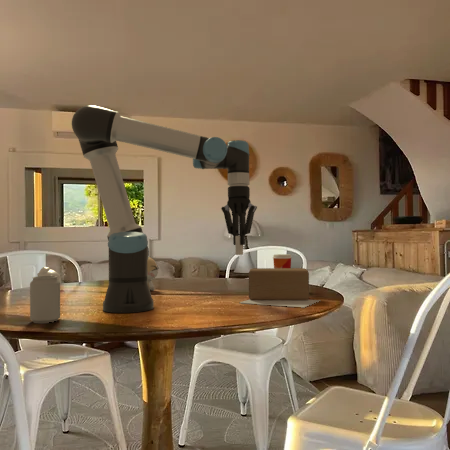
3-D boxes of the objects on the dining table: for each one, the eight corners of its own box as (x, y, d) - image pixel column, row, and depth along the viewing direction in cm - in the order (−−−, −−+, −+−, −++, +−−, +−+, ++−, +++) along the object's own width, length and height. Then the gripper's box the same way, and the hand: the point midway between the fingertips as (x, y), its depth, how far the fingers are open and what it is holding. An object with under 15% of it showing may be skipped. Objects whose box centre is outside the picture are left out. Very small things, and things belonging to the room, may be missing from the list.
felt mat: (303, 308, 143) (303, 307, 143) (239, 303, 154) (239, 302, 154) (320, 301, 157) (320, 300, 157) (260, 297, 168) (260, 296, 168)
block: (250, 296, 168) (307, 296, 166) (248, 300, 158) (309, 300, 156) (249, 268, 168) (306, 268, 167) (248, 270, 159) (309, 270, 157)
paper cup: (269, 289, 191) (269, 254, 191) (287, 288, 193) (286, 254, 193) (277, 291, 183) (277, 255, 184) (295, 290, 186) (295, 254, 186)
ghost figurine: (41, 290, 194) (41, 266, 194) (64, 290, 194) (64, 265, 194) (31, 293, 185) (31, 267, 185) (55, 293, 185) (55, 267, 185)
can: (63, 318, 130) (63, 274, 130) (55, 323, 122) (54, 277, 123) (36, 318, 130) (36, 275, 130) (25, 324, 122) (25, 277, 122)
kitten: (155, 293, 182) (155, 254, 182) (129, 293, 182) (129, 254, 182) (160, 288, 197) (160, 252, 197) (136, 288, 197) (136, 252, 197)
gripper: (260, 186, 163) (261, 254, 163) (227, 188, 170) (228, 253, 170) (250, 184, 157) (251, 255, 157) (216, 186, 163) (217, 254, 163)
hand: (239, 254), depth 163 cm, fingers closed
